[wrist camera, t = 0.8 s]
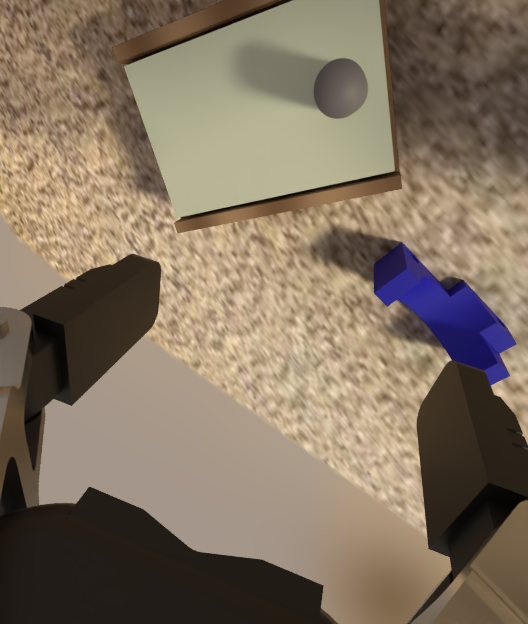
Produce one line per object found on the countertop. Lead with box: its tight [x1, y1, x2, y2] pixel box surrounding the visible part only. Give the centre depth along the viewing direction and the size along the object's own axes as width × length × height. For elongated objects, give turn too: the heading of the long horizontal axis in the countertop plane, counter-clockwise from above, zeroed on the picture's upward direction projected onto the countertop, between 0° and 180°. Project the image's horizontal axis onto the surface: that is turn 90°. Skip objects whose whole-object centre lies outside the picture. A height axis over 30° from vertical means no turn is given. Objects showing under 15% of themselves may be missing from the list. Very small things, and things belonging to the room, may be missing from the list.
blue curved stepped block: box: [374, 243, 516, 385], centre depth 31 cm, size 12×4×6 cm, turn 48°
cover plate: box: [124, 0, 395, 218], centre depth 22 cm, size 15×10×6 cm, turn 105°
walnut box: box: [112, 0, 402, 233], centre depth 26 cm, size 16×12×7 cm
